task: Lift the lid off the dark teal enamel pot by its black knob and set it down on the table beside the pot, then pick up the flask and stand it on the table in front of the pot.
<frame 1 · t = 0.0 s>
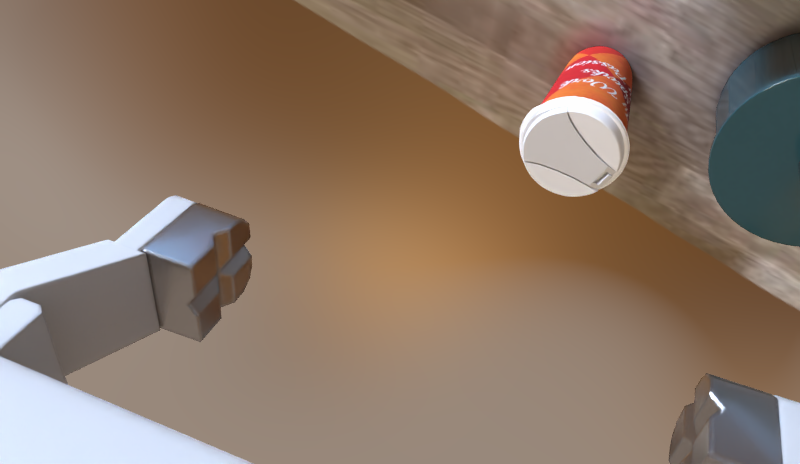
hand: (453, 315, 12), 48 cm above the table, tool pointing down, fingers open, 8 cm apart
paper cup: (597, 76, 58), on the table
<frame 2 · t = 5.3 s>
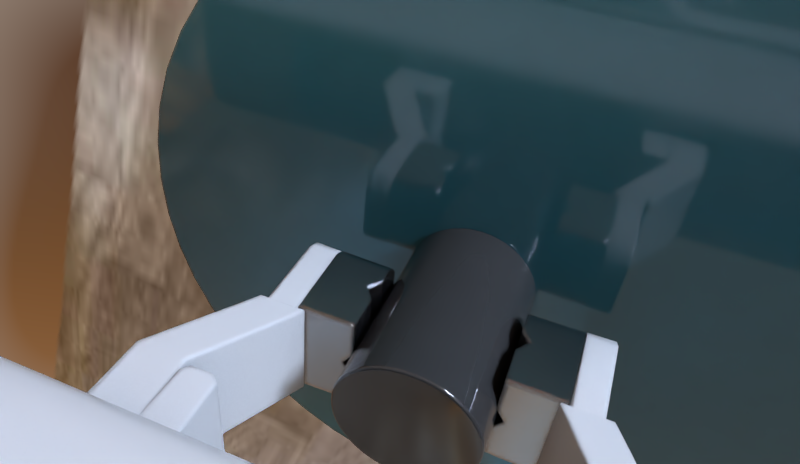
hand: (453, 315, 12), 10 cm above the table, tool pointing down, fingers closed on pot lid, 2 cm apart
pot lid: (480, 261, 13), point 9 cm above the table, touching gripper, pot
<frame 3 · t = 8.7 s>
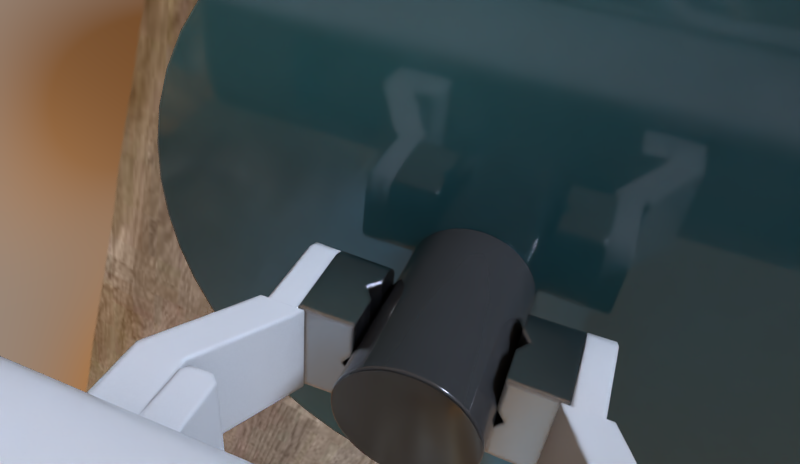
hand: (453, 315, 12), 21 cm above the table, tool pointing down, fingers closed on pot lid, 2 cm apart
pot lid: (480, 261, 13), point 20 cm above the table, touching gripper
when the fingers open (2 cm above the table, at t = 12.3 s): pot lid stays where it is, point 1 cm above the table.
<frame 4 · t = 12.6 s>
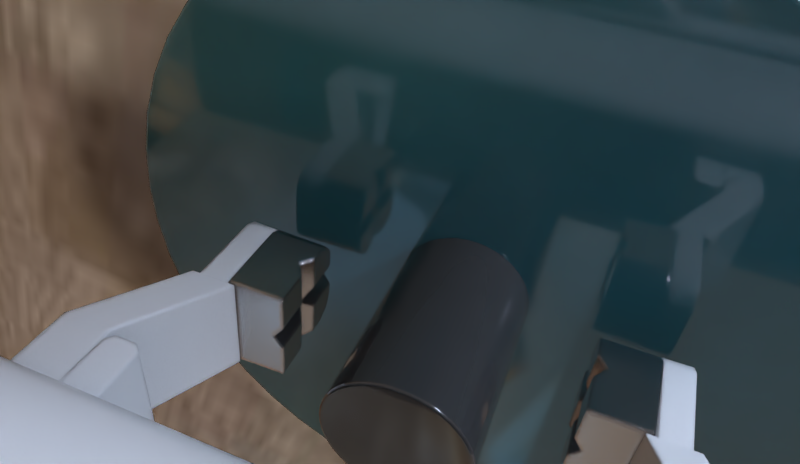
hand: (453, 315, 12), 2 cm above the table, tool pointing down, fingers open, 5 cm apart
pot lid: (473, 271, 13), point 1 cm above the table
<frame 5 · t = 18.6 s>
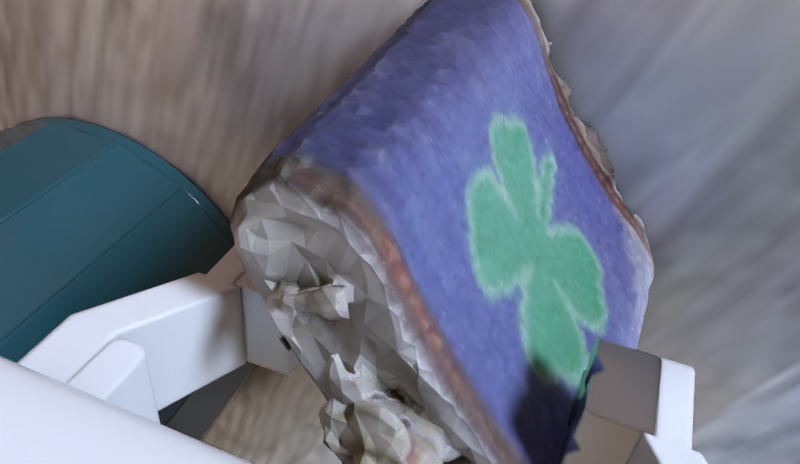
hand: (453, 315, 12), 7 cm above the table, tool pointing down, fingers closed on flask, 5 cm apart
flask: (547, 141, 17), on the table, touching gripper
pot: (126, 266, 26), on the table
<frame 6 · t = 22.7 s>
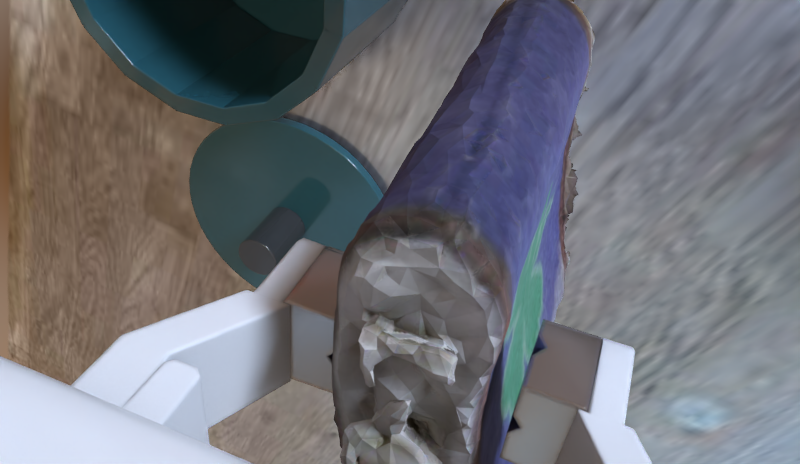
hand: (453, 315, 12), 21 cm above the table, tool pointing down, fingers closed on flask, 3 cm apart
flask: (528, 162, 17), point 14 cm above the table, touching gripper
pot lid: (292, 218, 41), point 1 cm above the table
when the fingers open (7 cm above the table, at t = 26.9 s): flask stays where it is, on the table.
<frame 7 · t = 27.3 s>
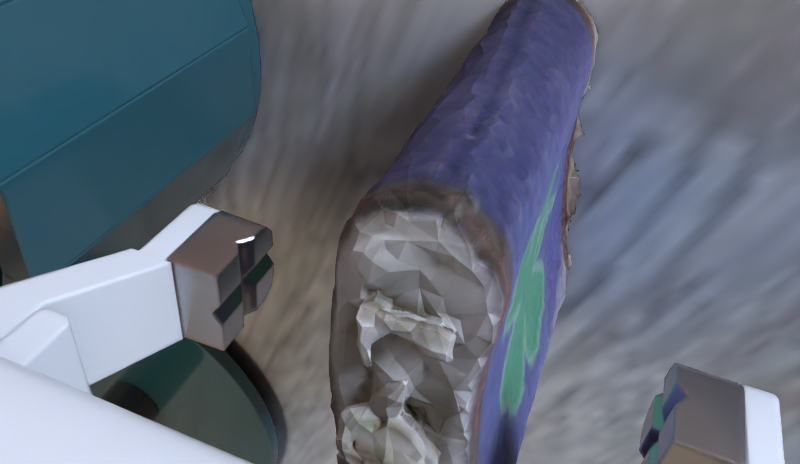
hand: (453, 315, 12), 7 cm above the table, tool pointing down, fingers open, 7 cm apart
flask: (531, 162, 17), on the table
pot: (73, 13, 20), on the table
pot lid: (143, 390, 30), point 1 cm above the table
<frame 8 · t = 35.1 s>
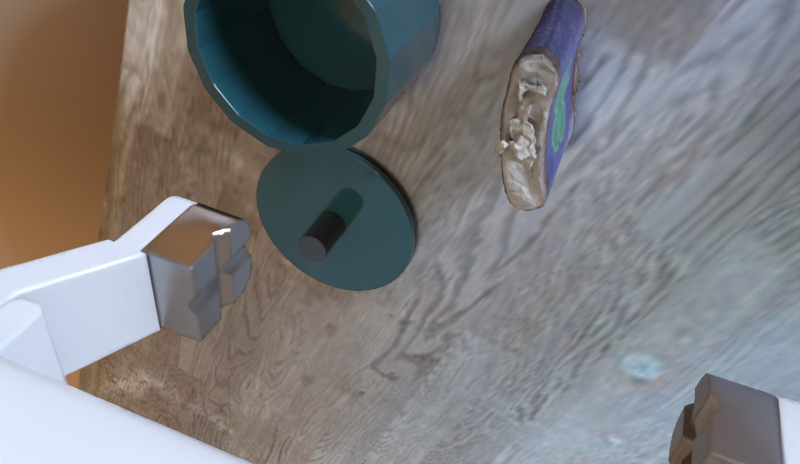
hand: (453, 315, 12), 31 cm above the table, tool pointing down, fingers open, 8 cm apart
flask: (558, 69, 41), on the table
pot: (347, 6, 44), on the table
pot lid: (335, 219, 54), point 1 cm above the table
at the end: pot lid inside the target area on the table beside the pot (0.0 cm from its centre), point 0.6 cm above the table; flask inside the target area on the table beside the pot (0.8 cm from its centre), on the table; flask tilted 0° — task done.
